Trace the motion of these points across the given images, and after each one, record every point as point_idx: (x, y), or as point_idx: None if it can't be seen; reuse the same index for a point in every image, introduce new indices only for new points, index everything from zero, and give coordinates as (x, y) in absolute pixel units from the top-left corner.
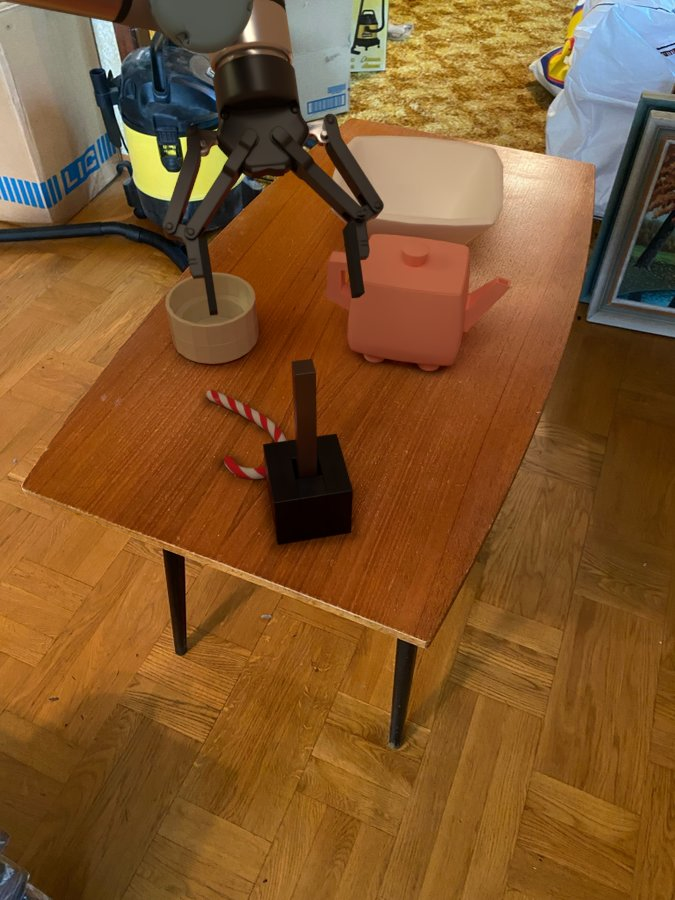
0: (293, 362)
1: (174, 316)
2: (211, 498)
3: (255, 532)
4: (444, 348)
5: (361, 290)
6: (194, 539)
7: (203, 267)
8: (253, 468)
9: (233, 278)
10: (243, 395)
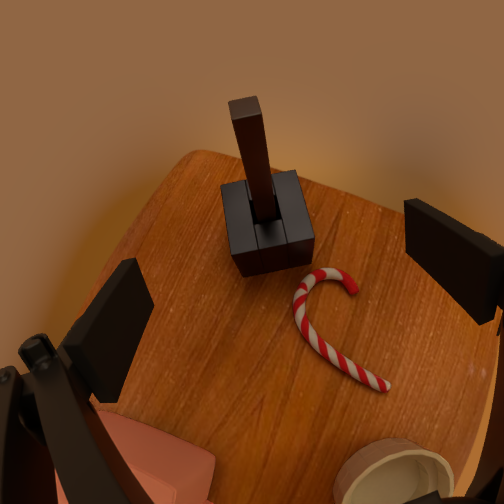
0: (258, 112)
1: (444, 461)
2: (362, 250)
3: (316, 215)
4: (103, 413)
5: (125, 260)
6: (366, 208)
7: (462, 224)
8: (326, 274)
9: None
10: (348, 395)
